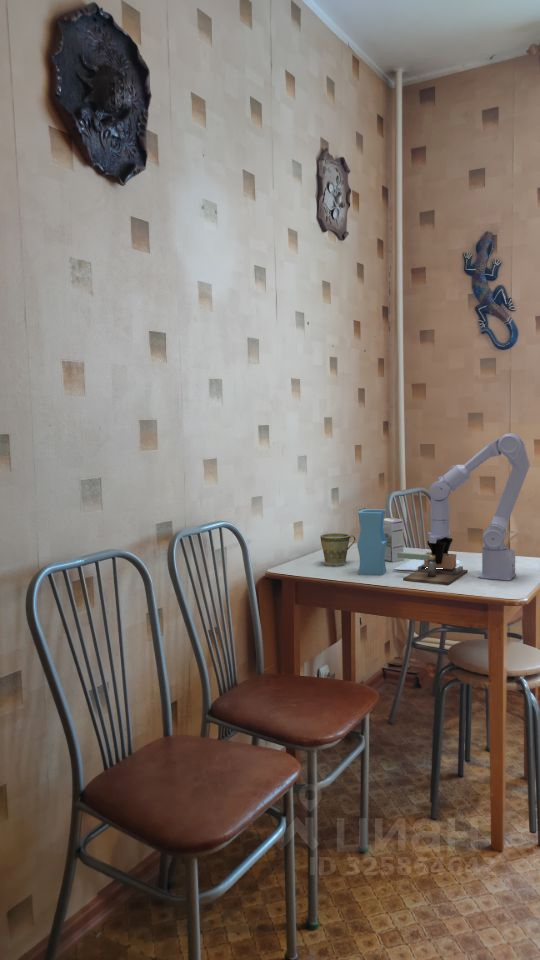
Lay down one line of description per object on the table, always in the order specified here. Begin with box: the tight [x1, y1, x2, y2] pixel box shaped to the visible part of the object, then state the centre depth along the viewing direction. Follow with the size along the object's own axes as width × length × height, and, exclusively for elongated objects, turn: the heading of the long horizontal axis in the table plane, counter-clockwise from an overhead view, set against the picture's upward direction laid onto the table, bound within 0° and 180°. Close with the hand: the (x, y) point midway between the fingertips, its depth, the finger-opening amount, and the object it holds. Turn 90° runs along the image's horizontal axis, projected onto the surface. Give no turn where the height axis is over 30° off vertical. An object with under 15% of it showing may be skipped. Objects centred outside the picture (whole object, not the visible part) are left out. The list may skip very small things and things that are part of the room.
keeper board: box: [402, 561, 469, 586], centre depth 220 cm, size 14×19×6 cm
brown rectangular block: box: [423, 551, 457, 569], centre depth 223 cm, size 9×4×4 cm, turn 58°
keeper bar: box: [397, 551, 435, 561], centre depth 219 cm, size 12×2×2 cm, turn 58°
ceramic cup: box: [319, 532, 356, 567], centre depth 243 cm, size 13×10×10 cm
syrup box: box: [383, 517, 404, 563], centre depth 247 cm, size 6×6×14 cm
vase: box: [356, 508, 387, 577], centre depth 228 cm, size 8×8×20 cm
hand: (440, 562), depth 223 cm, fingers closed on brown rectangular block, 4 cm apart
